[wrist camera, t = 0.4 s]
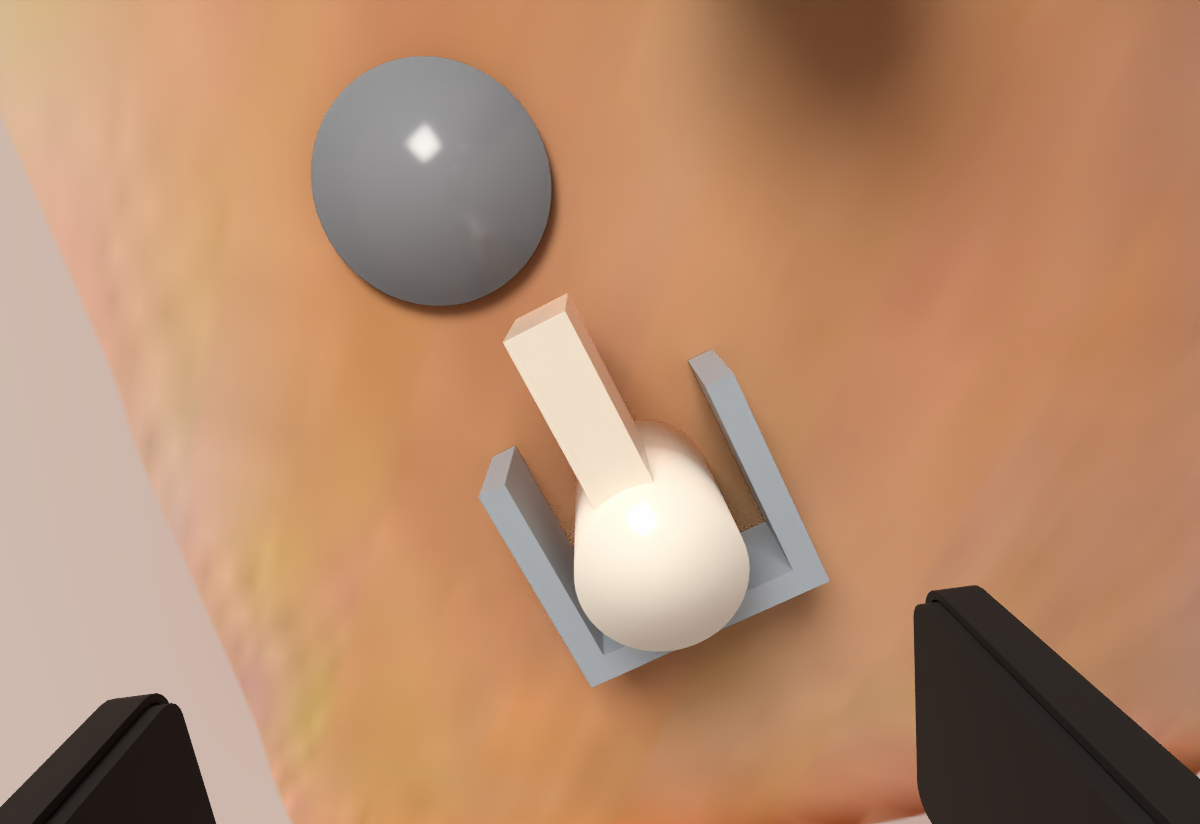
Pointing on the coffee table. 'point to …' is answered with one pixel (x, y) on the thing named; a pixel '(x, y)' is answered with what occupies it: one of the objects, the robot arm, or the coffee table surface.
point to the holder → (548, 556)
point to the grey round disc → (431, 181)
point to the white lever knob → (631, 497)
